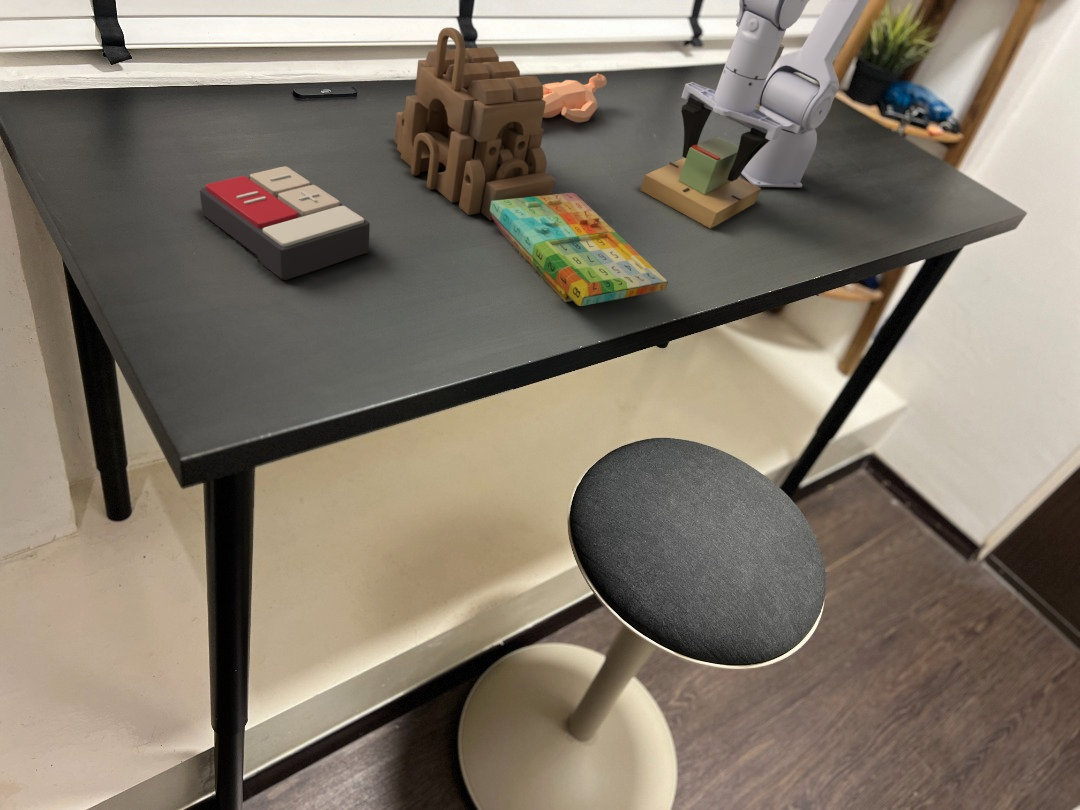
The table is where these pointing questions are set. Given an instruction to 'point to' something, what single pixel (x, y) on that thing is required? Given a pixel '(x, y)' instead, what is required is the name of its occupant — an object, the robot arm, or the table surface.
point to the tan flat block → (699, 195)
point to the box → (708, 165)
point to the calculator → (285, 221)
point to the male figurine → (572, 98)
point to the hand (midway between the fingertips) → (709, 167)
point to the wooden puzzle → (474, 127)
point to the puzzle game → (574, 249)
